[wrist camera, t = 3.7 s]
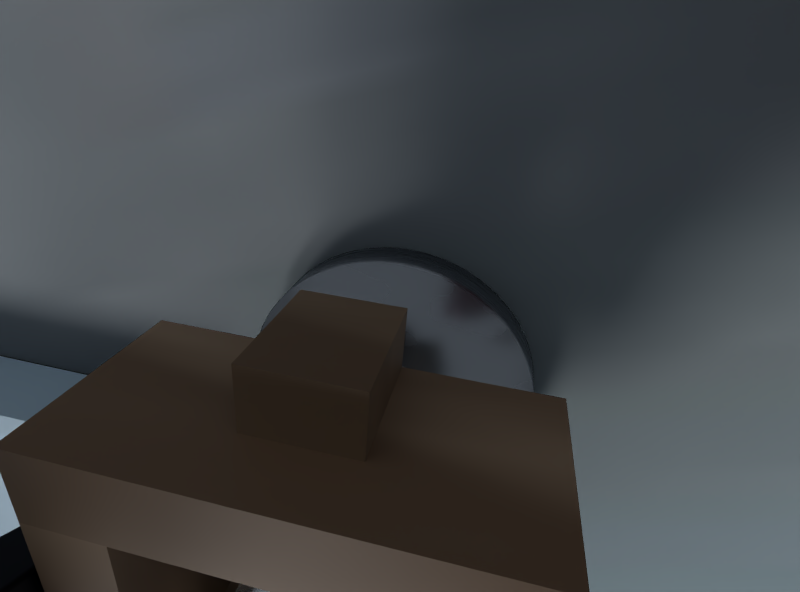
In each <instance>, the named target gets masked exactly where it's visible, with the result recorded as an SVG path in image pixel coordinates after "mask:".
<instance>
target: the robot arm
mask: <svg viewBox="0 0 800 592" xmlns="http://www.w3.org/2000/svg"><path fill="white" fill-rule="evenodd" d="M0 592H44V589H43V586H42V584H41V581H40V578H39V576H38V573H37V570H36V568H35V565H34V562H33V559H32V557H31V554H30V551H29V549H28V546H27V543H26V541H25V538H24V535H23V533H22V530H21V527H20V526H19V527H17V528H16V529H14V530H12V531H10V532H8V533H6V534H4V535H2V536H1V537H0Z"/></svg>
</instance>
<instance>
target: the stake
mask: <svg viewBox="0 0 800 592" xmlns="http://www.w3.org/2000/svg"><path fill="white" fill-rule="evenodd" d="M300 290H306V291H312V292H318V293H324V294H329V295H335V296H341V297H346V298H352V299H358V300H364V301H369V302H375V303H381V304H386V305H392V306H398V307H404V308H408V310H407V320H406V330H405V341H404V351H403V361H402V367H405V368H410V369H415V370H420V371H426V372H431V373H436V374H441V375H446V376H451V377H456V378H462V379H467V380H472V381H477V382H482V383H487V384H492V385H498V386H503V387H508V388H513V389H518V390H523V391H529V392H534V381H533V365H532V359H531V353H530V350H529V347H528V344H527V341H526V338H525V335H524V333H523V331H522V329H521V327H520V325H519V323H518V321H517V320H516V318H515V317H514V316H513V314H512V313H511V311H510V310H509V308H508V307H507V306H506V304H505V303H504V302H503V301H502V300H501V299H500V298H499V297H498V296H497V294H496V293H495V292H494V291H492V290H491V289H490V288H489V287H488V286H487V285H485V284H484V283H483V282H482V281H481V280H479V279H478V278H476V277H475V276H473V275H472V274H470V273H469V272H467V271H466V270H464V269H462V268H460V267H458V266H456V265H454V264H452V263H450V262H448V261H446V260H444V259H441V258H438V257H435V256H432V255H430V254H426V253H422V252H417V251H413V250H408V249H398V248H369V249H363V250H357V251H351V252H348V253H345V254H342V255H339V256H335V257H333V258H331V259H329V260H327V261H325V262H323V263H321V264H319V265H318V266H316V267H315V268H313V269H312V270H310V271H309V272H308V273H306V274H305V275H304V276H303V277H302V278H301V279H300V280H299V281H298V282H297V283H296V284H295V285H294V286H293V287H292V288H291V289H290V290H289V291H288V292H287V293H286V294H285V295H284V296H283V297H282V298H281V299H280V300H279V301H278V303H277V304H276V305H275V306H274V308H273V309H272V310H271V312H270V313H269V315H268V317H267V318H266V320H265V322H264V324H263V326H262V329H261V331H262V330H263V329H264V328H265V327H266V326H267V325H268V324H269V323H270V322H271V321H272V320H273V319H274V318H275V316H276V315H277V314H278V313H279V312H280V311H281V310H282V309H283V308H284V307H285V306H286V305H287V304H288V303H289V301H290V300H291V299H292V298H293V297H294V296H295V295H296V294H297V293H298V292H299V291H300ZM235 592H268V591H265V590H261V589H257V588H254V587H250V586H247V585H243V584H239V586H238V588H237V589H236V591H235Z"/></svg>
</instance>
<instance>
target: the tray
mask: <svg viewBox="0 0 800 592" xmlns="http://www.w3.org/2000/svg"><path fill="white" fill-rule="evenodd" d="M86 376H87V375H85V374H80V373H75V372H71V371H66V370H62V369H57V368H53V367H48V366H43V365H39V364H34V363H30V362H25V361H21V360H16V359H11V358H7V357H2V356H0V440H1V439H3V438H4V437H5V436H7V435H8V434H9V433H11V432H12V431H13V430H15V429H16V428H17V427H19V426H20V425H21V424H23V423H24V422H25V421H27V420H28V419H30V418H31V417H32V416H34V415H35V414H36V413H38V412H39V411H40V410H42V409H43V408H44V407H46V406H47V405H48V404H50V403H51V402H52V401H54V400H55V399H56V398H58V397H59V396H60V395H62V394H63V393H64V392H66V391H67V390H69V389H70V388H71V387H73V386H74V385H75V384H77V383H78V382H79V381H81V380H82V379H83V378H85V377H86ZM19 526H20V525H19V522H18V519H17V516H16V514H15V511H14V508H13V506H12V503H11V500H10V498H9V495H8V492H7V490H6V487H5V484H4V481H3V479H2V476H1V473H0V537H1V536H2V535H4V534H6V533H8V532H10V531H12V530H14V529H16V528H17V527H19Z"/></svg>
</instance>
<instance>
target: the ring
mask: <svg viewBox="0 0 800 592" xmlns="http://www.w3.org/2000/svg"><path fill="white" fill-rule="evenodd" d="M407 310H408V308H404V307H398V306H392V305H386V304H381V303H375V302H369V301H364V300H358V299H352V298H346V297H341V296H335V295H329V294H324V293H318V292H312V291H306V290H300V291H299V292H298V293H297V294H296V295H295V296H294V297H293V298H292V299H291V300H290V301H289V303H288V304H287V305H286V306H285V307H284V308H283V309H282V310H281V311H280V312H279V313H278V314H277V315H276V316H275V318H274V319H273V320H272V321H271V322H270V323H269V324H268V325H267V326H266V327H265V328H264V329H263V330H262V331H261V332H260V334H259V335H258V336H257V337H256V338H250V337H245V336H240V335H235V334H230V333H225V332H219V331H214V330H209V329H204V328H199V327H194V326H188V325H183V324H178V323H173V322H168V321H163V320H161V321H160V322H159V323H157V324H156V325H155V326H153V327H152V328H151V329H149V330H148V331H147V332H145V333H144V334H142V335H141V336H140V337H138V338H137V339H136V340H134V341H133V342H132V343H130V344H129V345H128V346H126V347H125V348H124V349H122V350H121V351H120V352H118V353H117V354H116V355H114V356H113V357H112V358H110V359H109V360H108V361H106V362H105V363H103V364H102V365H101V366H99V367H98V368H97V369H95V370H94V371H93V372H91V373H90V374H89V375H87V376H86V377H85V378H83V379H82V380H81V381H79V382H78V383H77V384H75V385H74V386H73V387H71V388H70V389H69V390H67V391H66V392H64V393H63V394H62V395H60V396H59V397H58V398H56V399H55V400H54V401H52V402H51V403H50V404H48V405H47V406H46V407H44V408H43V409H42V410H40V411H39V412H38V413H36V414H35V415H34V416H32V417H31V418H30V419H28V420H27V421H25V422H24V423H23V424H21V425H20V426H19V427H17V428H16V429H15V430H13V431H12V432H11V433H9V434H8V435H7V436H5V437H4V438H3V439H1V440H0V473H1V476H2V479H3V481H4V484H5V487H6V490H7V492H8V495H9V498H10V500H11V503H12V506H13V508H14V511H15V514H16V516H17V519H18V522H19V525H20V527H21V530H22V533H23V535H24V538H25V541H26V543H27V546H28V549H29V551H30V554H31V557H32V559H33V562H34V565H35V568H36V570H37V573H38V576H39V578H40V581H41V584H42V586H43V589H44V592H235V591H236V589H237V588H238V586H239V584H243V585H247V586H250V587H254V588H257V589H261V590H265V591H268V592H589V584H588V576H587V567H586V559H585V551H584V543H583V535H582V526H581V518H580V510H579V502H578V493H577V485H576V477H575V469H574V460H573V452H572V444H571V436H570V427H569V419H568V411H567V403H566V399H565V398H559V397H554V396H549V395H544V394H539V393H534V392H529V391H523V390H518V389H513V388H508V387H503V386H498V385H492V384H487V383H482V382H477V381H472V380H467V379H462V378H456V377H451V376H446V375H441V374H436V373H431V372H426V371H420V370H415V369H410V368H405V367H402V361H403V351H404V341H405V330H406V320H407Z"/></svg>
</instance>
